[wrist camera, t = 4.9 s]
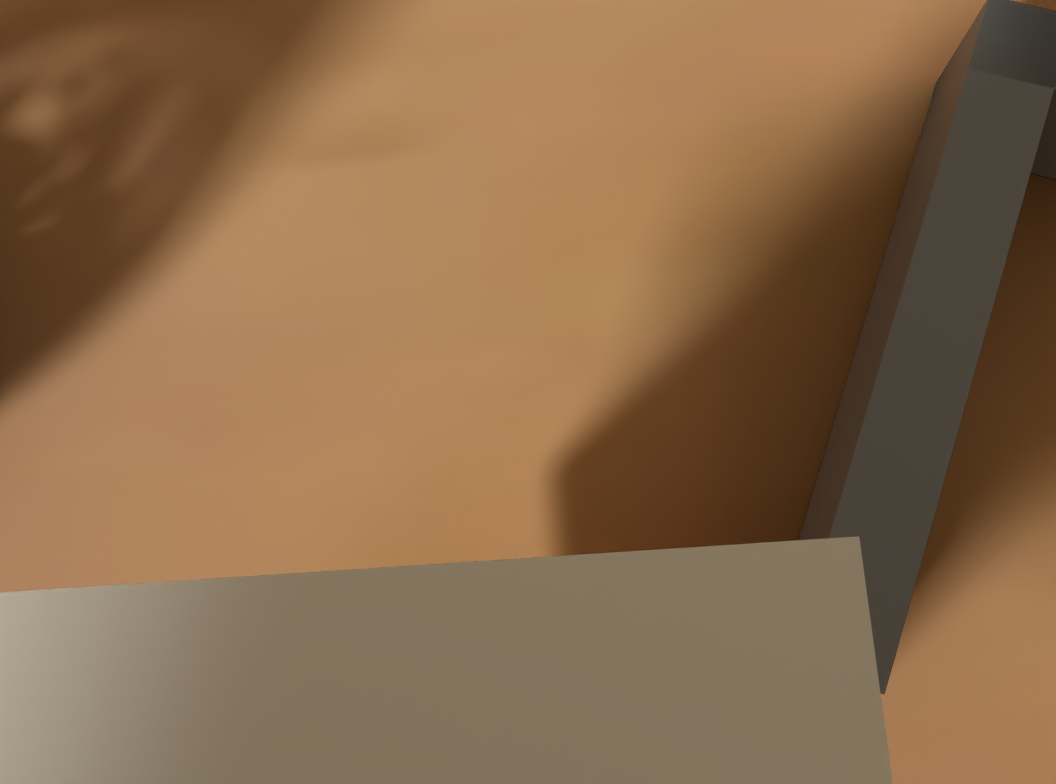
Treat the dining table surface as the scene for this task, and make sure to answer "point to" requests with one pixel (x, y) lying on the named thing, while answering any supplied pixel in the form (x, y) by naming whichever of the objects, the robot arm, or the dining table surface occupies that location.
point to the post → (456, 674)
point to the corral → (936, 304)
